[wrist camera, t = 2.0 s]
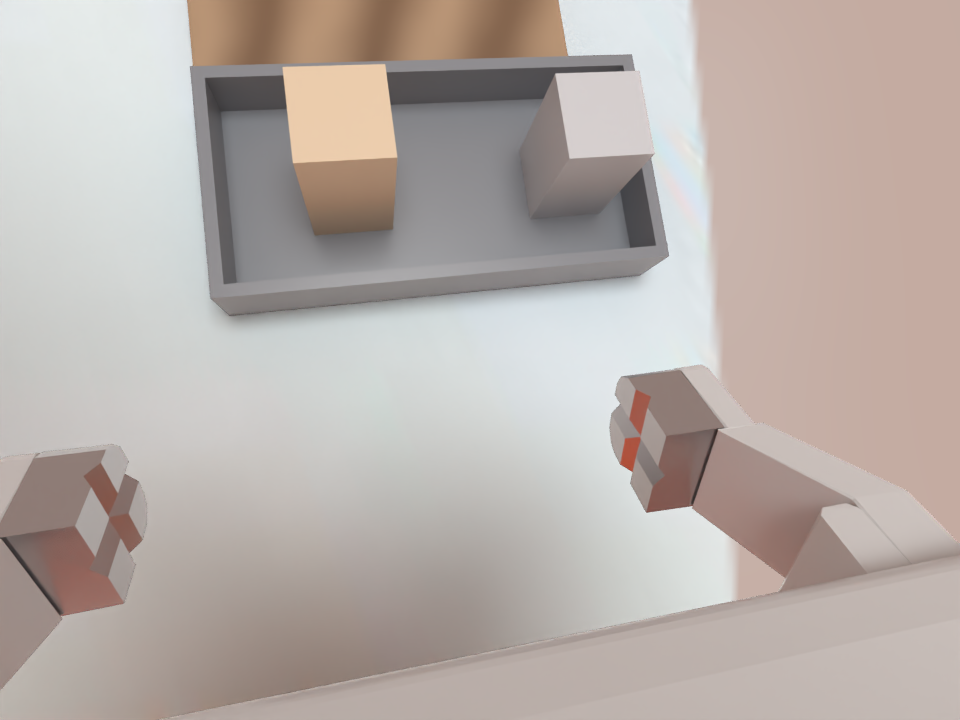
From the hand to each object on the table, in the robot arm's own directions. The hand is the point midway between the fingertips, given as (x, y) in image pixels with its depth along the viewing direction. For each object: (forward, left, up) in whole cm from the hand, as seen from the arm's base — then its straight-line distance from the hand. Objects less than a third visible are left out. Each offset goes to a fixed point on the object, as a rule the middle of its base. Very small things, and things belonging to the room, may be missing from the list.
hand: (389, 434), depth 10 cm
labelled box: (0, +13, -20) cm, 24 cm away
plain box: (+11, +13, -20) cm, 27 cm away
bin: (+4, +13, -21) cm, 25 cm away
